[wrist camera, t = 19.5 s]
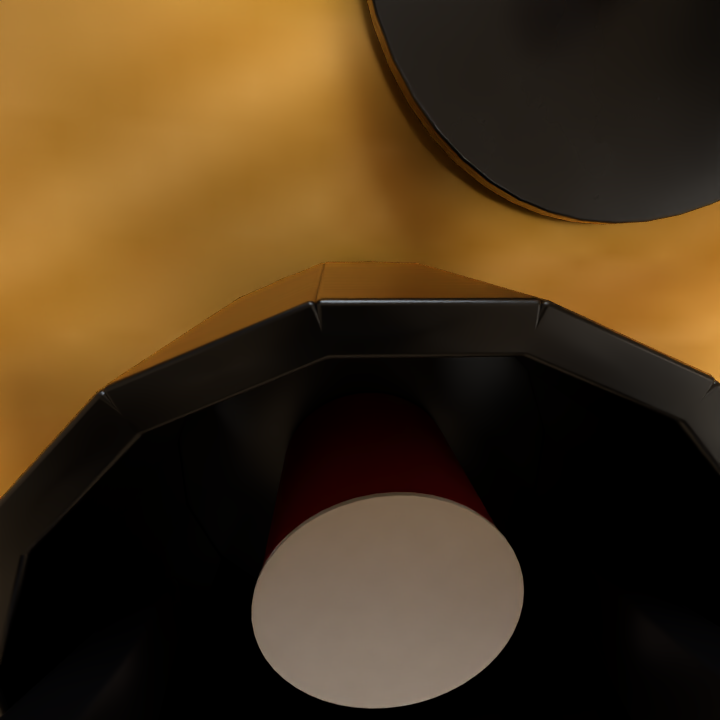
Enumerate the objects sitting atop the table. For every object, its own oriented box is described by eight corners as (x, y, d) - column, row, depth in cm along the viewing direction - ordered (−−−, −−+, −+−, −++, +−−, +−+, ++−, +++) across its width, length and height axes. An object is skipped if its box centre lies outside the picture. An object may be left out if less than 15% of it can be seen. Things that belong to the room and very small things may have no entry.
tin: (136, 259, 10) (-222, 299, 3) (582, 262, 10) (960, 298, 4) (190, 616, 13) (58, 971, 7) (525, 597, 14) (688, 897, 7)
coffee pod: (278, 390, 10) (240, 500, 6) (456, 388, 11) (542, 490, 6) (285, 540, 12) (259, 717, 7) (443, 534, 12) (506, 699, 8)
